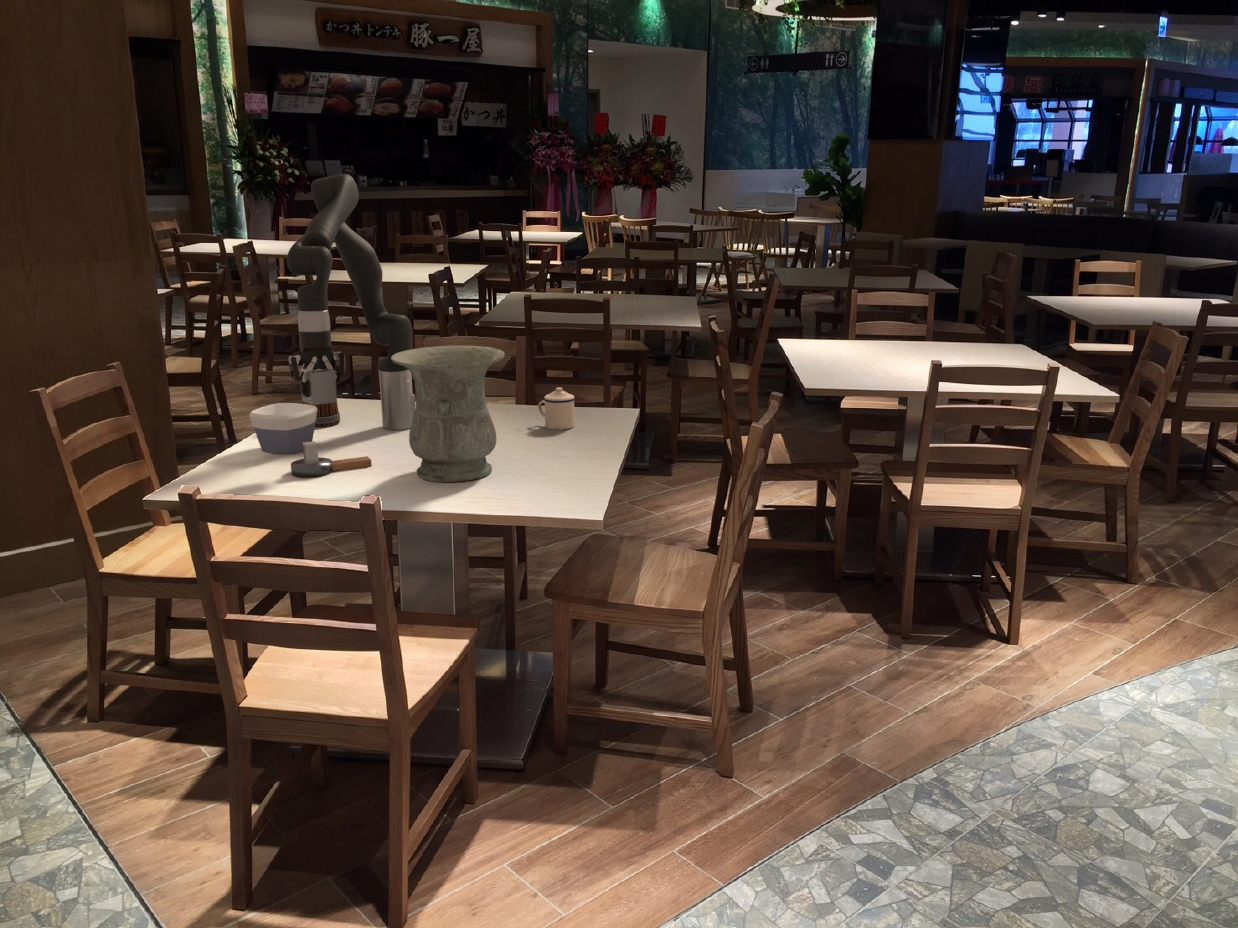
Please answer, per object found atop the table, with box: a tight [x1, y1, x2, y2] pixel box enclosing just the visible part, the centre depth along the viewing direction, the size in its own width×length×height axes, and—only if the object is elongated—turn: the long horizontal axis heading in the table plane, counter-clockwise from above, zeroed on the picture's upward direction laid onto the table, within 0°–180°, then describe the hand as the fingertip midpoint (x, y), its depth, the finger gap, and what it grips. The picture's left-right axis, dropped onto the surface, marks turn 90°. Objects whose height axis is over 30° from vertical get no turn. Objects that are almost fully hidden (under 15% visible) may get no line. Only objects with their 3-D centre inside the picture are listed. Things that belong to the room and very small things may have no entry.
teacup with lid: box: [537, 387, 576, 431], centre depth 302 cm, size 12×9×12 cm
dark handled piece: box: [290, 440, 372, 479], centre depth 258 cm, size 20×10×8 cm, turn 118°
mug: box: [303, 401, 341, 429], centre depth 308 cm, size 16×11×15 cm
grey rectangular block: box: [299, 369, 338, 405], centre depth 257 cm, size 6×6×8 cm
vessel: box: [391, 345, 505, 483], centre depth 252 cm, size 27×27×30 cm
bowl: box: [249, 402, 318, 455], centre depth 278 cm, size 15×15×11 cm
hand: (319, 394), depth 257 cm, fingers closed on grey rectangular block, 6 cm apart
